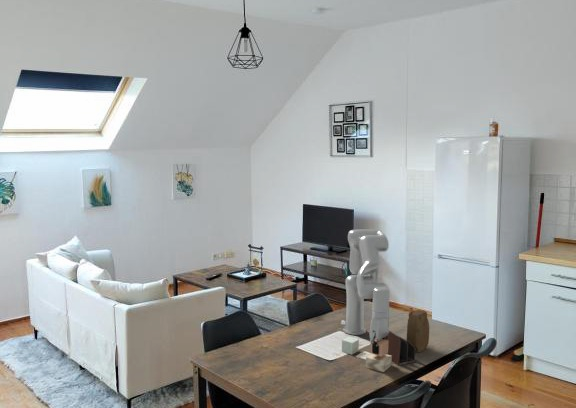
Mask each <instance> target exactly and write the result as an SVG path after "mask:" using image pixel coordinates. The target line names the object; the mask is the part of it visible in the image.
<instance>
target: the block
mask: <svg viewBox="0 0 576 408" xmlns="http://www.w3.org/2000/svg"><path fill="white" fill-rule="evenodd" d="M406 328H407V329H406V341H408V342H409V343H411V344H412V345H413V346H414V347H415V353H422V352H424V351H425V350H427V348H428V345H429V341H430V323H429V319H428V312H427V311H425V310H424V309H423V310H422V309H414V310H411V311H409V312H408V319H407V326H406Z"/></svg>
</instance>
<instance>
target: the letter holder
mask: <svg viewBox="0 0 576 408" xmlns="http://www.w3.org/2000/svg"><path fill="white" fill-rule="evenodd" d="M375 338H376V337H375ZM387 340H389V342H388V353H387V355H391V356H392V364H395V365H397V366H403V365H404V366H405V365H408V364H413V363H415V362H416V352H415V347H414V346H413V345H412V344H411V343H409V342H408V341H407V339H405V338H402V337H401V336H399V335H397V334H395V333H394V332H392V331H390V330H389V334H388V337H387Z"/></svg>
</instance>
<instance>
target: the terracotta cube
mask: <svg viewBox="0 0 576 408" xmlns="http://www.w3.org/2000/svg"><path fill="white" fill-rule="evenodd" d="M375 339H377V338H375ZM375 342H377V340H375ZM388 342H389V340H385V339H380V340H379V344H378V346H379V354H378V355H377V354H374V353H372V343H371V342H370V345H369V346H370V348H369V349H370V351H369V353H371V354H374V355H377V356H381V357H382V356H384V355H385V354H387V353H388Z"/></svg>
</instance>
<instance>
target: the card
mask: <svg viewBox="0 0 576 408" xmlns="http://www.w3.org/2000/svg"><path fill="white" fill-rule="evenodd" d="M370 354H371V353H370V351H369V352H368V351H366V350H365V351H362V352H360V353H359V354H357V355H355V358H358V359H361V360H365V361H366V357H367V356H368V355H370Z"/></svg>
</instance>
